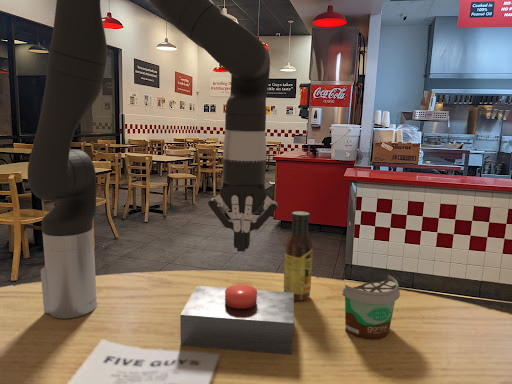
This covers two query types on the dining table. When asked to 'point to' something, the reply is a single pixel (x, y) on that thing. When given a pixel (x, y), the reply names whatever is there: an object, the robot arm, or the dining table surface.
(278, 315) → the console
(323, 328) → the dining table surface
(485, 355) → the dining table surface
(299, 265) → the sauce bottle
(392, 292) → the food container
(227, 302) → the red button
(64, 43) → the robot arm
